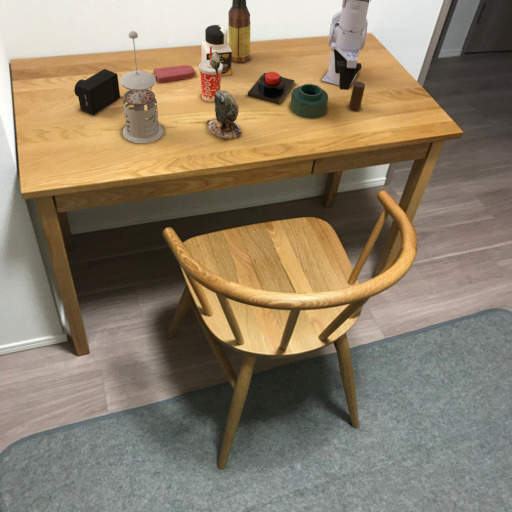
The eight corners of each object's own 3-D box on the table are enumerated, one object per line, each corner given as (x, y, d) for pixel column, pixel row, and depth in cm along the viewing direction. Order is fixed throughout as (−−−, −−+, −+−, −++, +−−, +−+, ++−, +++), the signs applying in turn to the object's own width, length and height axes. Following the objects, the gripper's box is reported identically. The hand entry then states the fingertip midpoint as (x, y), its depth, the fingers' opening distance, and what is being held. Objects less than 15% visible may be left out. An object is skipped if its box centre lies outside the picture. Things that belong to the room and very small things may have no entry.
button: (267, 76, 154) (268, 70, 153) (281, 79, 153) (282, 73, 152) (262, 82, 151) (262, 76, 150) (276, 86, 150) (276, 80, 149)
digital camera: (104, 91, 149) (100, 66, 144) (120, 97, 147) (117, 73, 142) (76, 108, 142) (71, 83, 137) (93, 115, 141) (88, 90, 136)
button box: (264, 76, 159) (264, 66, 157) (294, 84, 157) (295, 74, 155) (247, 96, 151) (248, 86, 149) (278, 104, 149) (279, 94, 147)
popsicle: (138, 70, 154) (191, 63, 158) (138, 75, 155) (191, 68, 160) (142, 80, 151) (196, 72, 155) (143, 85, 152) (196, 77, 156)
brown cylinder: (350, 103, 152) (355, 80, 147) (361, 106, 151) (366, 83, 146) (347, 109, 150) (352, 85, 145) (358, 112, 149) (363, 88, 144)
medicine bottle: (206, 76, 157) (206, 35, 148) (201, 64, 162) (200, 22, 153) (231, 74, 159) (232, 33, 150) (225, 62, 163) (226, 21, 154)
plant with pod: (211, 147, 135) (212, 69, 120) (205, 120, 142) (204, 44, 128) (245, 144, 136) (249, 67, 122) (236, 118, 144) (239, 43, 129)
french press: (117, 140, 134) (102, 39, 116) (131, 114, 142) (119, 15, 124) (157, 145, 134) (149, 44, 116) (169, 119, 142) (163, 20, 124)
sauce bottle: (250, 54, 167) (254, -15, 153) (248, 64, 163) (252, -6, 149) (228, 52, 168) (230, -18, 153) (226, 62, 163) (227, -9, 149)
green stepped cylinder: (297, 95, 153) (299, 77, 149) (330, 104, 151) (333, 85, 147) (285, 112, 147) (287, 93, 143) (319, 122, 145) (322, 103, 141)
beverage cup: (194, 98, 149) (193, 48, 139) (206, 88, 153) (206, 38, 142) (214, 105, 147) (215, 55, 137) (226, 95, 151) (227, 45, 141)
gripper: (330, 12, 134) (322, 65, 144) (338, 40, 124) (329, 95, 134) (359, 13, 135) (349, 66, 145) (370, 42, 125) (358, 96, 135)
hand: (341, 80), depth 139 cm, fingers open, 7 cm apart
